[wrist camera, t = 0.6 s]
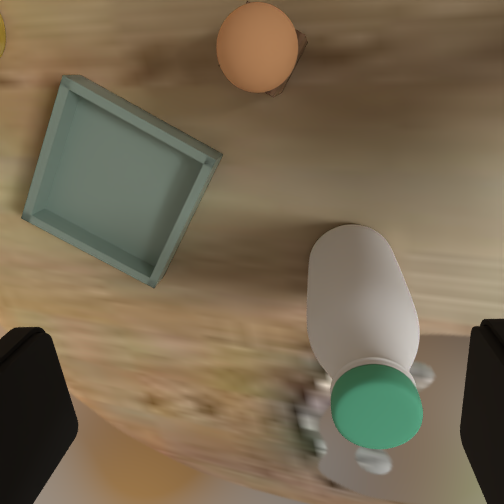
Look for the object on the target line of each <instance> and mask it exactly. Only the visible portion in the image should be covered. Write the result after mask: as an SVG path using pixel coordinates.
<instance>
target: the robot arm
mask: <svg viewBox="0 0 504 504" xmlns="http://www.w3.org/2000/svg"><path fill="white" fill-rule="evenodd" d="M469 346H470V347H469V355H468V363H467V372H466V381H465V390H464V398H463V407H462V416H461V424H460V435H461V441H462V445H463V447H464V450H465V452H466V455H467V457H468V459H469V462H470V464H471V467H472V469H473V471H474V474H475V476H476V478H477V481H478V483H479V485H480V488H481V490H482V493H483V495H484V497H485V500H486V502H487V504H504V319H484V320H482V322H481V324H480V326H474V327H473V328H472V330H471V337H470V345H469ZM77 432H78V420H77V417H76V414H75V411H74V407H73V404H72V401H71V398H70V395H69V391H68V388H67V385H66V382H65V379H64V376H63V372H62V369H61V366H60V363H59V360H58V356H57V353H56V350H55V347H54V344H53V341H52V338H51V336H50V335H49V334H47V333H45V331H44V330H43V329H42V328H40V327H18V328H13V329H12V330H10V331H9V332H8V333H7V334H6V335H4V336H3V337H2V338H1V339H0V504H33V503H34V501H35V500H36V498H37V497H38V495H39V494H40V492H41V490H42V489H43V487H44V486H45V484H46V483H47V481H48V479H49V478H50V476H51V475H52V473H53V472H54V470H55V469H56V467H57V466H58V464H59V462H60V461H61V459H62V458H63V456H64V455H65V453H66V451H67V450H68V448H69V446H70V445H71V444H72V442H73V441H74V439H75V437H76V435H77Z"/></svg>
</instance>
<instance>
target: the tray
mask: <svg viewBox="0 0 504 504" xmlns="http://www.w3.org/2000/svg"><path fill="white" fill-rule="evenodd" d="M222 156H223V154H222V153H220V152H218V151H216V150H214V149H213V148H211V147H209V146H207V145H205V144H204V143H202V142H200V141H198V140H196V139H195V138H193V137H191V136H189V135H187V134H186V133H184V132H182V131H180V130H178V129H177V128H175V127H173V126H171V125H169V124H168V123H166V122H164V121H162V120H160V119H159V118H157V117H155V116H153V115H151V114H150V113H148V112H146V111H144V110H142V109H141V108H139V107H137V106H135V105H133V104H132V103H130V102H128V101H126V100H125V99H123V98H121V97H119V96H117V95H116V94H114V93H112V92H110V91H108V90H107V89H105V88H103V87H101V86H99V85H98V84H96V83H94V82H92V81H90V80H89V79H87V78H85V77H83V76H81V75H63V76H62V80H61V83H60V87H59V90H58V93H57V97H56V100H55V104H54V107H53V111H52V114H51V118H50V121H49V124H48V128H47V131H46V135H45V138H44V142H43V145H42V149H41V152H40V155H39V159H38V162H37V166H36V169H35V173H34V176H33V180H32V183H31V186H30V190H29V193H28V197H27V200H26V204H25V207H24V211H23V214H22V217H21V218H22V219H24V220H26V221H27V222H29V223H31V224H33V225H35V226H37V227H39V228H41V229H43V230H44V231H46V232H48V233H50V234H52V235H54V236H56V237H58V238H60V239H62V240H63V241H65V242H67V243H69V244H71V245H73V246H75V247H77V248H79V249H80V250H82V251H84V252H86V253H88V254H90V255H92V256H94V257H96V258H98V259H99V260H101V261H103V262H105V263H107V264H109V265H111V266H113V267H115V268H117V269H118V270H120V271H122V272H124V273H126V274H128V275H130V276H132V277H134V278H135V279H137V280H139V281H141V282H143V283H145V284H147V285H149V286H151V287H153V288H155V287H156V285H157V284H158V283H159V282H160V280H161V279H162V278H163V276H164V275H165V272H166V270H167V268H168V266H169V264H170V262H171V260H172V258H173V256H174V254H175V252H176V250H177V248H178V246H179V244H180V242H181V240H182V238H183V236H184V234H185V231H186V229H187V227H188V225H189V223H190V221H191V219H192V217H193V215H194V213H195V211H196V209H197V207H198V205H199V203H200V201H201V199H202V197H203V195H204V192H205V190H206V188H207V186H208V184H209V182H210V180H211V178H212V176H213V174H214V172H215V170H216V168H217V166H218V164H219V162H220V160H221V158H222Z"/></svg>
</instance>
